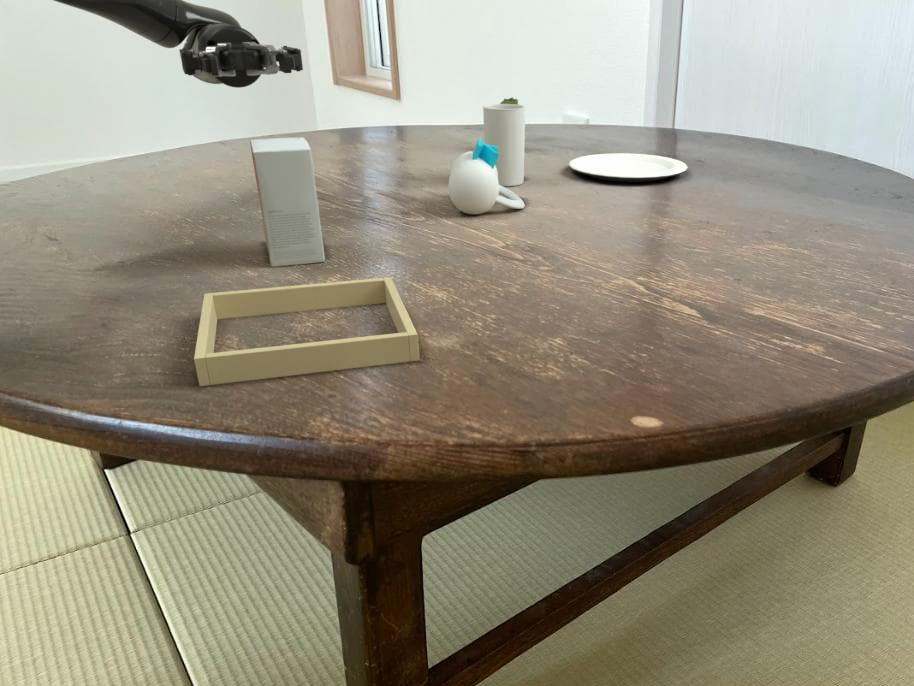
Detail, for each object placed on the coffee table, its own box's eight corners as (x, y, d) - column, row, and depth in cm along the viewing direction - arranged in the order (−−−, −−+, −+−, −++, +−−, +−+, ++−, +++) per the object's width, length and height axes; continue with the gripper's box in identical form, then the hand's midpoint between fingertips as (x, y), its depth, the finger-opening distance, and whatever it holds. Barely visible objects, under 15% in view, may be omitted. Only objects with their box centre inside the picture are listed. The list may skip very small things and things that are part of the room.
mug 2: (464, 144, 107) (465, 130, 118) (439, 207, 111) (443, 188, 121) (543, 180, 110) (537, 163, 120) (517, 239, 113) (514, 218, 124)
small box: (266, 248, 98) (249, 139, 92) (319, 244, 100) (305, 136, 94) (269, 267, 92) (251, 151, 86) (326, 262, 94) (312, 148, 88)
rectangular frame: (200, 392, 63) (193, 358, 62) (209, 322, 77) (204, 293, 75) (420, 366, 68) (417, 334, 67) (393, 304, 81) (390, 276, 80)
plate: (687, 164, 148) (688, 155, 147) (686, 189, 130) (687, 178, 129) (576, 159, 151) (576, 150, 150) (559, 183, 133) (560, 172, 132)
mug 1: (531, 185, 131) (531, 108, 126) (493, 188, 129) (491, 110, 123) (508, 173, 140) (508, 100, 134) (472, 176, 137) (470, 102, 132)
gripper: (286, 82, 113) (314, 95, 100) (179, 86, 107) (194, 101, 94) (279, 23, 109) (307, 29, 96) (167, 24, 103) (181, 31, 91)
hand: (251, 65), depth 95 cm, fingers open, 8 cm apart
